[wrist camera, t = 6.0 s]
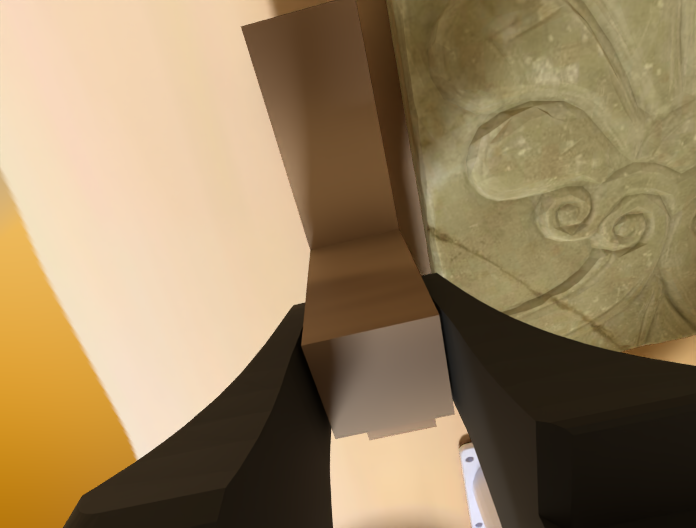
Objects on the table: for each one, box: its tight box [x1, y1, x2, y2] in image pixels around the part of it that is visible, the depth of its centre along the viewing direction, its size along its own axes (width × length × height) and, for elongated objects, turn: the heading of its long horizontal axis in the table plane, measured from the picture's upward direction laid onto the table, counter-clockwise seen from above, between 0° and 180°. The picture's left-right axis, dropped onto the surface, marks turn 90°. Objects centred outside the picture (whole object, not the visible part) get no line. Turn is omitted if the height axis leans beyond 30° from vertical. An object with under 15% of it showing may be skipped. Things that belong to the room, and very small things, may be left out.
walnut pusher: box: [241, 0, 455, 440], centre depth 12 cm, size 16×3×8 cm, turn 13°
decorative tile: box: [386, 0, 696, 352], centre depth 15 cm, size 19×20×4 cm
